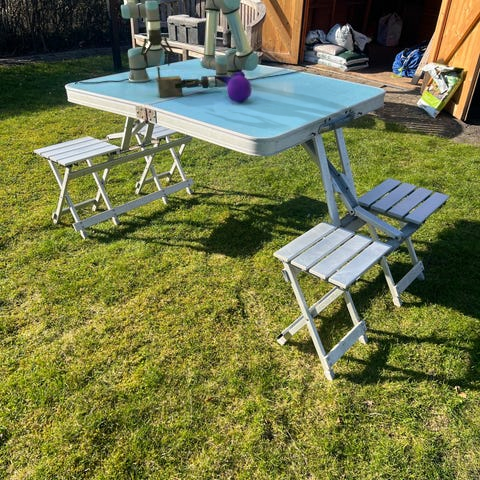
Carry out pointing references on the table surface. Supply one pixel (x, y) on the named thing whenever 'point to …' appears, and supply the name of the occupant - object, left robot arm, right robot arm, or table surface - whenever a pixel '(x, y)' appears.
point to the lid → (171, 78)
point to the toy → (237, 86)
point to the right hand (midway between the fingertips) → (174, 84)
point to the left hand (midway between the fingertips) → (158, 66)
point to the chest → (169, 89)
